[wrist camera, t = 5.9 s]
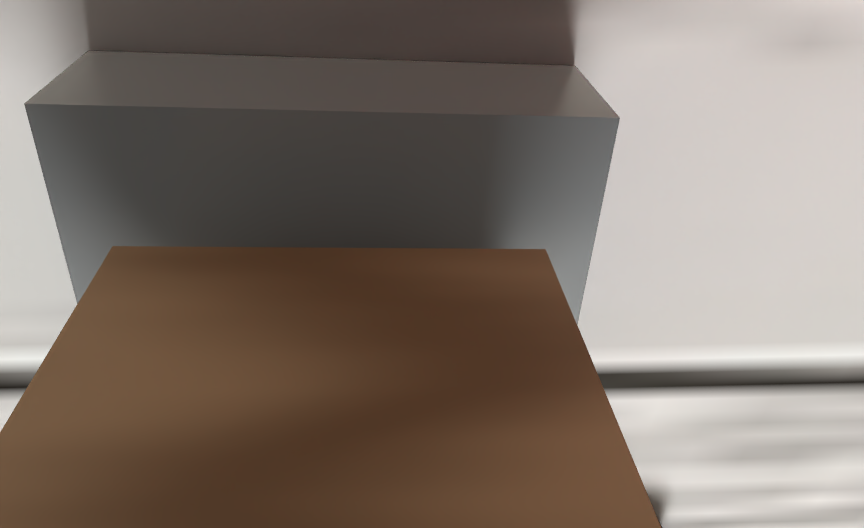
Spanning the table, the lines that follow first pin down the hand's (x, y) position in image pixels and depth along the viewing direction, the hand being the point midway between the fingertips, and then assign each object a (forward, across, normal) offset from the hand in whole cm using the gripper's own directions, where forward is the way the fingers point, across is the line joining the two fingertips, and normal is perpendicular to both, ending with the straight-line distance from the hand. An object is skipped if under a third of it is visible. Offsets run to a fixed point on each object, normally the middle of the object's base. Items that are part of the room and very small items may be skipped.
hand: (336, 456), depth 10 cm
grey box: (+5, 0, 0) cm, 5 cm away
